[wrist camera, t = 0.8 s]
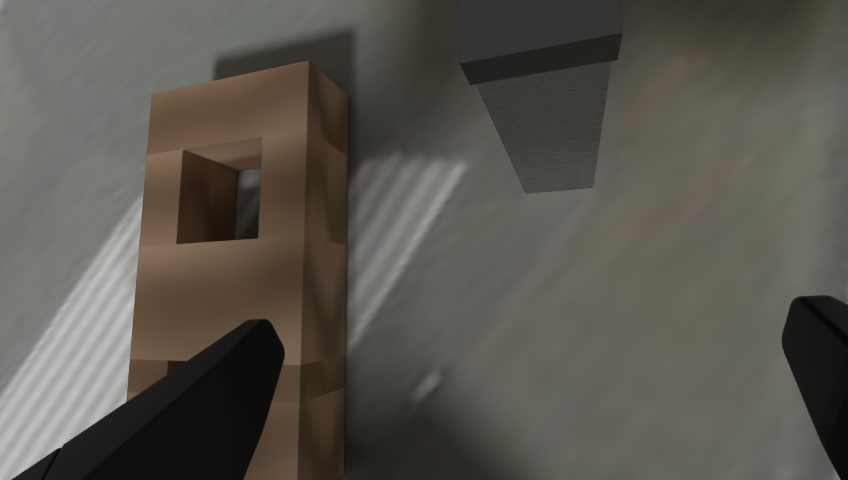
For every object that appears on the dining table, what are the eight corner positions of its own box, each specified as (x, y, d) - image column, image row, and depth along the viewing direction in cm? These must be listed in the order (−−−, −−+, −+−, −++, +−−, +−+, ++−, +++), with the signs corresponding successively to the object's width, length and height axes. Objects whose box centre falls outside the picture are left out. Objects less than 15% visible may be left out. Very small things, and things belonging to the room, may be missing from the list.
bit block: (343, 474, 22) (296, 509, 18) (187, 455, 25) (119, 482, 22) (348, 96, 25) (309, 60, 21) (208, 121, 28) (151, 94, 24)
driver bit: (595, 189, 20) (621, 32, 9) (523, 195, 21) (459, 63, 10) (590, 122, 21) (609, -113, 9) (520, 131, 22) (456, -69, 10)
